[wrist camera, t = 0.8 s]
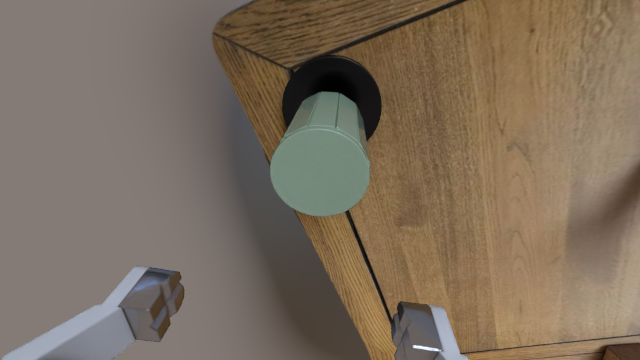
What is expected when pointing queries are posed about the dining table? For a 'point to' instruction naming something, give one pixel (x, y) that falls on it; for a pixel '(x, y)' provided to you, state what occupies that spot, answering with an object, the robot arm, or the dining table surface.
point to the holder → (334, 87)
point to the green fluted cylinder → (322, 157)
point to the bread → (622, 352)
